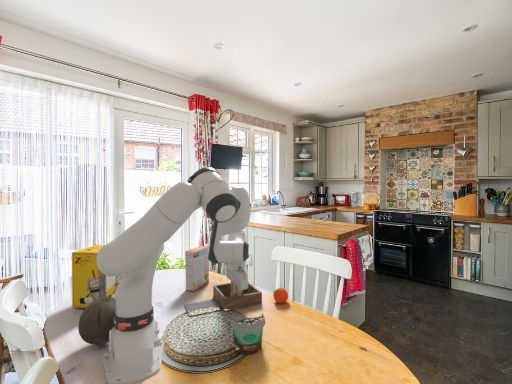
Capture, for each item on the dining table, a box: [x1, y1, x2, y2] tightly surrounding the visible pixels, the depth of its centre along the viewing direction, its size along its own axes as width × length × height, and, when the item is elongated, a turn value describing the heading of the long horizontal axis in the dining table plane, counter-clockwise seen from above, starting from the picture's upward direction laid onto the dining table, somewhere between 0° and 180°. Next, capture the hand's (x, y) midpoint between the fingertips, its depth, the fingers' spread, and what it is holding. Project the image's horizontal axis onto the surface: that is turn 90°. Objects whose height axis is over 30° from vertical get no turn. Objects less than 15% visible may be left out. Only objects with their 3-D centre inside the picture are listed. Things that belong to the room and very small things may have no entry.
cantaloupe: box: [77, 296, 116, 346], centre depth 93 cm, size 14×14×15 cm
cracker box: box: [184, 245, 210, 292], centre depth 145 cm, size 14×6×21 cm, turn 156°
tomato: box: [272, 287, 289, 304], centre depth 124 cm, size 8×7×7 cm
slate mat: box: [183, 298, 221, 312], centre depth 119 cm, size 12×14×1 cm
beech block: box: [230, 281, 244, 297], centre depth 128 cm, size 4×4×9 cm
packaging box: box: [71, 244, 124, 309], centre depth 127 cm, size 16×16×25 cm
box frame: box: [212, 281, 263, 311], centre depth 128 cm, size 18×18×6 cm
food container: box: [230, 313, 266, 355], centre depth 88 cm, size 12×6×10 cm, turn 114°
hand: (236, 292), depth 128 cm, fingers closed on beech block, 4 cm apart
